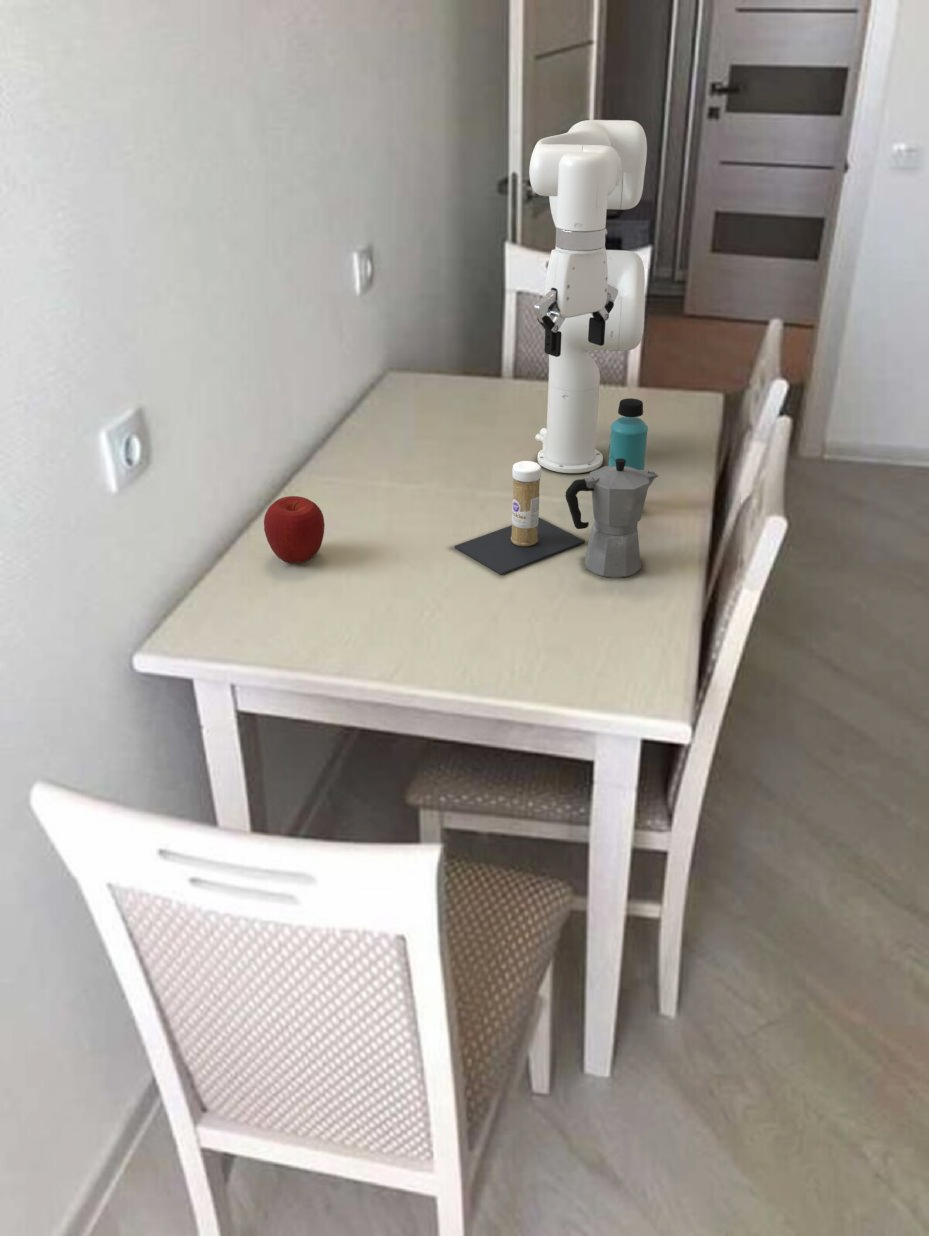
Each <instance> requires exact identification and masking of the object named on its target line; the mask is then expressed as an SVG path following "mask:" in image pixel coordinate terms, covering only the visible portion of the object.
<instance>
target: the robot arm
mask: <svg viewBox="0 0 929 1236" xmlns="http://www.w3.org/2000/svg"><path fill="white" fill-rule="evenodd" d="M647 155H648V141H647V136H646V133H645V130H644V128H643V126H642V125H641V124H640V123H639V122H637V121H636V120H630V119H629V120H626V119H625V120H624V119H622V120H620V119H588V120H587V119H586V120H582V121H578V122H577V123H575V124H573V125H572V126H571V127H570V128H569V129H568V131H567V132H565V133H560V134H556V135H551V136H546V137H543V138H540V139H539V140H538V141H537V142H536V143H535V146H534V148H533V151H532V153H531V157H530V161H529V168H528V172H529V182H530V186H531V189H532V190H533V192H534V193H535V194H537V195H538V196H541V197H542V196H543V197H548V199H549V209H550V213H551V218H552V221H553V224H554V227H555V248H554V249H551V252H550V255H549V259H548V264H547V269H546V275H545V284H544V293H543V294H544V295H543V297H542V298H540V299H539V300H538V301H537V302H536V303H535V304H534V306H533V310H534V314H535V315H536V317H537V318H536V319H537V322H538V323H539V324H540V325H541V328H542V329H543V330H544V349H543V350H544V351H543V352H544V353H545V354H546V355H548V380H547V381H548V383H547V384H548V386H547V407H546V410H547V411H546V427H542V428H541V429H540V430H539V433H537V434H536V435H535V437H534V440H535V441H537V442H539V443H542V449H540V450H539V451H538V453H537V461H536V462H537V463H538V464H539V465H540V466H541V467H543V468H544V469H547V470H549V471H553V472H557V473H563V474H582V473H588V472H589V473H590V472H592V471H595V470H597V469H599V468H601V466H602V465H603V462H604V456H603V453H601V452H600V451H599V450H598V449H596V445H597V429H598V415H599V402H600V401H599V398H600V384H601V373H600V369H599V366H598V365H597V362H596V360H595V359H594V358H593V357H592V355H591V354H590V352H589V351H607V352H609V351H611V352H625V351H626V352H627V351H632V350H634V349H636V348H637V347H638V346H639V345H640V343H641V342H642V339H643V335H644V329H645V293H646V292H645V289H646V287H645V286H646V279H645V278H646V276H645V266H644V265H645V264H644V261H643V260H642V257H641V256H640V255H639V254H638V253H637V252H634V251H632V250H624V249H623V250H622V249H607V248H606V236H607V235H608V229H607V228H606V225H607V224H606V223H607V210H630V209H633V208H635V207H636V206H638V204H639V203H640V200H641V198H642V195H643V192H644V183H645V173H646V166H647V165H646V164H647V157H648V156H647Z"/></svg>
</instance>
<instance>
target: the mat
mask: <svg viewBox="0 0 929 1236" xmlns="http://www.w3.org/2000/svg"><path fill="white" fill-rule="evenodd" d="M511 536H512V524H511V525H509V526H506V527H504V528H503V527H502V528H500V529H498V530H495V531H492V532H489V533H487V534H483V535H481V536H478V537H475V538H473V539H469V540H467V541H464V542H461V543H459V544H455V545H454V549H455V550H457V551H459V552H460V553H463V554H464V555H465V556H467V557H469V558H471V559H473V560H475V561H476V562H478V563H480V564H481V565H482V566H485V567H486V568H488V569H490V570H491V571H493V572H495V573H497V574H498V575H500V576H504V575H506V574H508V573H511V572H514V571H516V570H518V569H521V568H524V567H526V566H529V565H533V564H534V563H537V562H539V561H541V560H544V559H547V558H550V557H552V556H555V555H558V554H560V553H562V552H563V553H564V552H565V551H568V550H570V549H573V548H575V547H578V546H580V545H583V544H585V543H586V540H584V539H583V538H580V537H578V536H576V535H574V534H573V533H570V532H568V531H567V530H564V529H562V528H560V527H558V526H556V525H555V524H553V523H551V522H548V521H546V520H544V519H543V518H542V517H539V519H538V534H537V537H538V542H537V543H535V544H534V545H531V546H525V547H524V546H518V545H515V544H513V542H512V541H511Z"/></svg>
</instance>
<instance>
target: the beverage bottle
mask: <svg viewBox="0 0 929 1236" xmlns="http://www.w3.org/2000/svg"><path fill="white" fill-rule="evenodd" d="M617 414H618V415H619V416H620V417H618V418H617V419H616V420H615V421H613V422H612V423H611V425H610V438H609V444H608V447H609V450H608V453H607V454H608V459H607V460H608V465H607V466H616V461H615V459H618V458H622V459H625V460H626V463H625V466H628V467H631V468H634V469H637V470H645V466H646V465H645V461H646V452H647V451H646V450H647V441H648V431H649V426H648V424H647V423H646V422H645V421H644V420H642V418H640V417H641V416H643V415H644V402H643V400H641V399H638V398H632V397H631V398H630V397H629V398H622V399H621V400H620V401H619V405H618V409H617Z"/></svg>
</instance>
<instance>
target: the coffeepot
mask: <svg viewBox="0 0 929 1236" xmlns="http://www.w3.org/2000/svg"><path fill="white" fill-rule="evenodd" d="M615 461H616V466H608V465H605V466H602V467H599V468H597V469H595V470H592V471H589V476H588V477H583V478H580V479H575V480H573V481H572V482H571V483H570V485H569V486H568V487H567V489H566V491H565V501H566V502H567V505H568V510H569V513H570V515H571V518H572V522H573V525H574V528H576V530H584V529H588V527H589V525H590V522H589V521H586V522H585V521H582V512H581V510H580V508H579V498H578V496H577V495H578V493H579V492H591V501H592V513H593V519H594V523H593V524H592V527H591V530H590V531H591V532H590V536H589V539H588V543H587V547H586V551H585V556H584V561H585V562H584V563H585V564H584V565H585V568H586V569H587V570H588V571H589V572H591V573H592V574H595V575H597V576H600V577H604V578H612V579H613V578H614V579H618V578H619V579H620V578H626V577H627V578H628V577H630V576H633V575H635V574H636V573H637V572H639V570H641V569H642V566H641V565H642V564H641V553H640V542H639V530H638V525H639V524H638V523H639V521H641V518H642V514H643V510H644V508H645V507H644V506H645V502H646V499H647V494H648V490H649V488H650V486H651V485H652V483H653V482H654V481H655V479H656V478H659V474H657V473H656V472H655V471H652V470H651V471H650V470H648V469H644V470H637V469H634V468H631V467H628V466H625V463H626V460H625V459H622V458H618V459H615Z"/></svg>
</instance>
